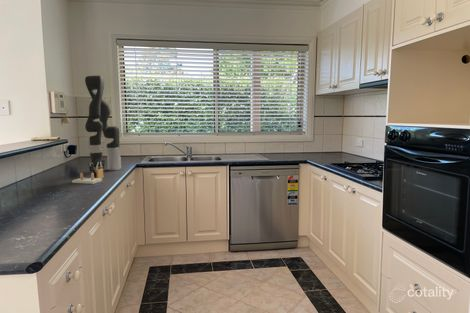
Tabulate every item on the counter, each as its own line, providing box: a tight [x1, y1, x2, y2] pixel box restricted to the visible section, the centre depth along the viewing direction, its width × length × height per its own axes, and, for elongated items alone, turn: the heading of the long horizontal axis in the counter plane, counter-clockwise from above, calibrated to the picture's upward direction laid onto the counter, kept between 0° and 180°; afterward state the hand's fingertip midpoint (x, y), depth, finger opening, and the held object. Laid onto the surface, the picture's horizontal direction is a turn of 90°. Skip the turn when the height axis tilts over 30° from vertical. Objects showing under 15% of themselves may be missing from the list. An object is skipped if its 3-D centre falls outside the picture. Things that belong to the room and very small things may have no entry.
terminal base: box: [71, 172, 103, 185], centre depth 203 cm, size 9×15×6 cm, turn 76°
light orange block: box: [91, 168, 105, 179], centre depth 214 cm, size 5×5×6 cm
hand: (97, 176), depth 214 cm, fingers closed on light orange block, 5 cm apart
